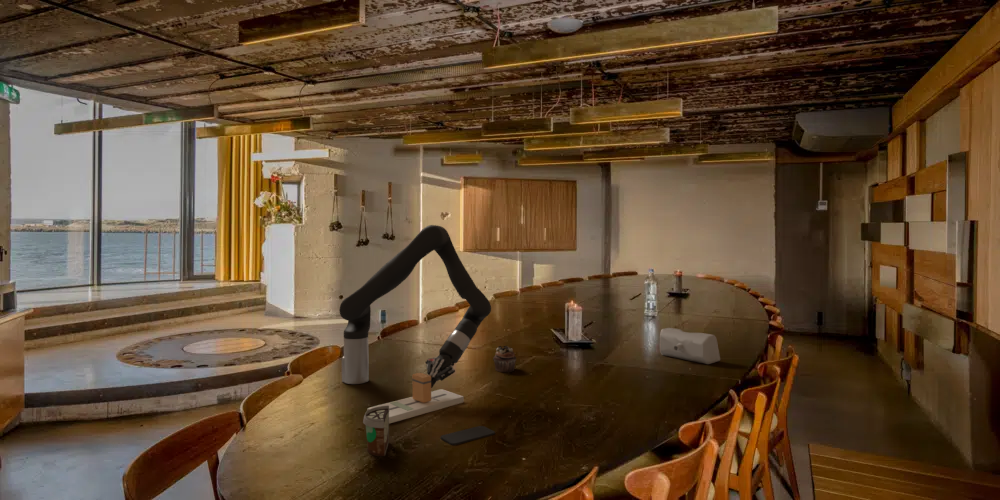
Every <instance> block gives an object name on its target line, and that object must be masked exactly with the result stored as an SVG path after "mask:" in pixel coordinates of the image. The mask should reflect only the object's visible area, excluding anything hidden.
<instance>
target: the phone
mask: <svg viewBox="0 0 1000 500" xmlns="http://www.w3.org/2000/svg"><path fill="white" fill-rule="evenodd" d="M495 434H496V432H495V430H492V429H490V428H488V427H487V426H483V425H479V426H475V427H470V428H466V429H462V430H458V431H453V432H450V433H446V434H442V435H440V440H442V441H443V442H445V443H447V444H449V445H450V446H457V445H461V444H465V443H469V442H471V441H476V440H479V439H483V438H486V437H490V436H493V435H495Z"/></svg>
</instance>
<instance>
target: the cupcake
mask: <svg viewBox="0 0 1000 500" xmlns="http://www.w3.org/2000/svg"><path fill="white" fill-rule="evenodd" d="M495 351H496V352H494V353H495V355H494V356H493V362H494V363H493V364H494V369H495V371H497V372H499V373H510V372H511V373H512V372H514V371H515V367H516V362H517V356H516V353H514V349H513V348H511V347H509V346H508V345H504V346H503V347H502V346H501V345H499V346H498V347H497V348H496V350H495Z"/></svg>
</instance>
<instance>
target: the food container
mask: <svg viewBox="0 0 1000 500" xmlns="http://www.w3.org/2000/svg"><path fill="white" fill-rule="evenodd" d="M362 423H363V424H364V425H365V431H366V432H365V433H366V443H367V445H366V446H367V452H368V453H369V454H371V455H373V456H377V457H385V456H386V453H387V449H388V446H389V443H390V442H389V441H390V424H389V406H379V407H375V408H372V409H370V410H368V411H367V410H366V412H365V413H364V416H363V421H362Z"/></svg>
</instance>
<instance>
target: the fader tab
mask: <svg viewBox="0 0 1000 500" xmlns="http://www.w3.org/2000/svg"><path fill="white" fill-rule="evenodd" d="M411 376H412V380H411V382H412V384H411V385H412V387H411V388H412V397H413V399H415V400H417V401H420V402H423V403H424V402H428V401H431V392H432V388H431V376H429V375H428V374H427V373H422V372H417V373H413V374H412V375H411Z"/></svg>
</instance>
